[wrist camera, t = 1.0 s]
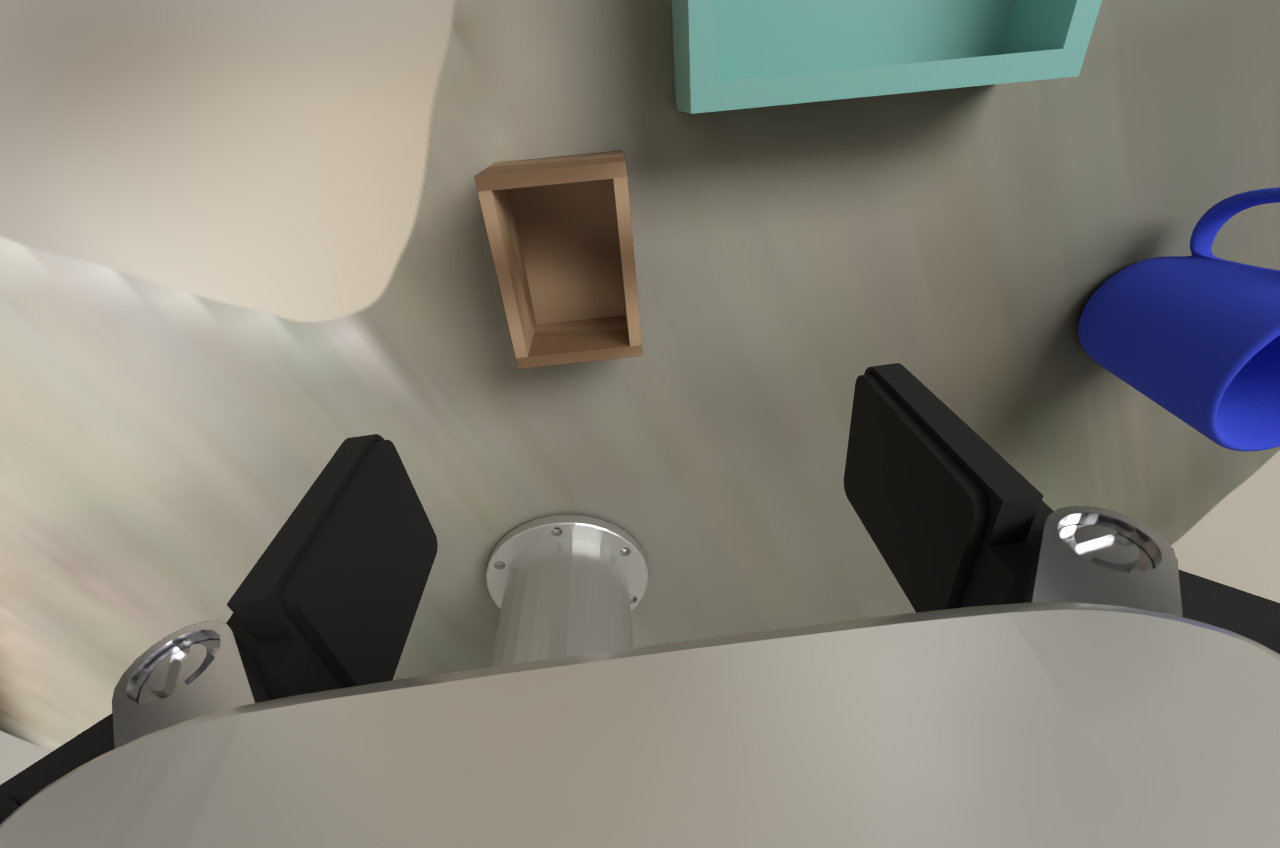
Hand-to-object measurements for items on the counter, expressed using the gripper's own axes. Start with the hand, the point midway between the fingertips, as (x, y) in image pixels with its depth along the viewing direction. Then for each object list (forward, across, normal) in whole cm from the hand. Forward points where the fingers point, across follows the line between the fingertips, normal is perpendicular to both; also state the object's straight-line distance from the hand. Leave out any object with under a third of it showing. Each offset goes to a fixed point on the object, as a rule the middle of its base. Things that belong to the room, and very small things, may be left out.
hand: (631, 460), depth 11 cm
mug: (+21, -32, +7) cm, 39 cm away
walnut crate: (+21, +2, +1) cm, 21 cm away
